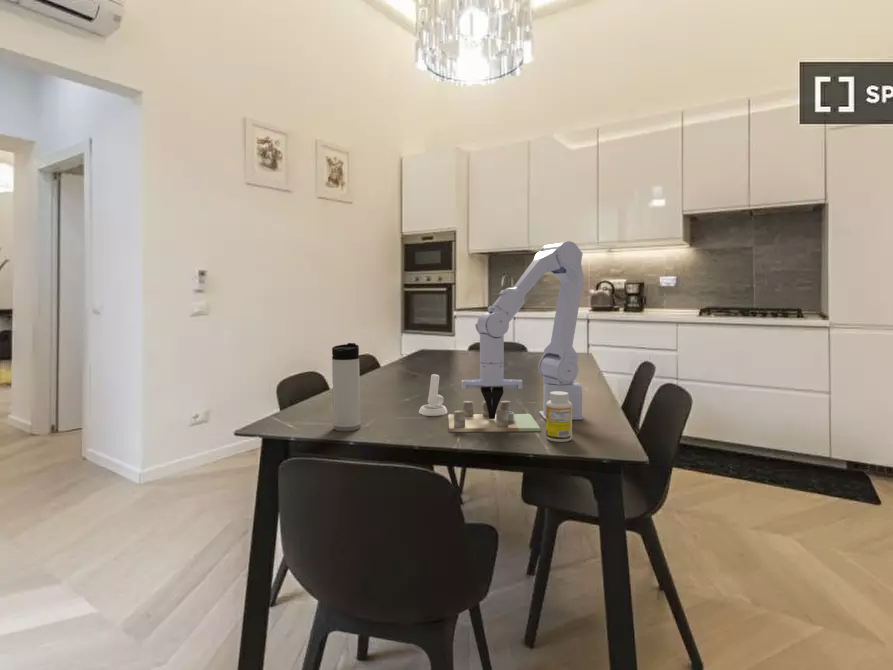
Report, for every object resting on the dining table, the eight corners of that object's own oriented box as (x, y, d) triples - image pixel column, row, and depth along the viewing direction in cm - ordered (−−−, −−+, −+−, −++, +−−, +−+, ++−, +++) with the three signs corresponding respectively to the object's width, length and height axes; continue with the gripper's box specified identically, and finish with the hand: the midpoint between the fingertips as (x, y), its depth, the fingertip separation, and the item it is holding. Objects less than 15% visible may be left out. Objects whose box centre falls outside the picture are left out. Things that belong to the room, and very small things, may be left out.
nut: (510, 418, 131) (510, 409, 131) (517, 421, 127) (517, 413, 127) (493, 419, 130) (493, 411, 129) (499, 423, 126) (499, 414, 126)
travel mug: (365, 425, 127) (364, 343, 126) (352, 432, 121) (350, 346, 119) (343, 423, 129) (341, 342, 128) (328, 430, 123) (326, 345, 122)
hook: (445, 387, 150) (452, 376, 144) (442, 426, 143) (450, 417, 138) (419, 382, 148) (425, 371, 142) (416, 422, 142) (422, 412, 136)
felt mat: (530, 416, 135) (530, 414, 135) (540, 431, 121) (540, 428, 121) (510, 417, 135) (510, 414, 135) (518, 431, 121) (518, 428, 121)
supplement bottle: (553, 434, 119) (554, 389, 118) (576, 438, 115) (577, 392, 114) (541, 439, 115) (541, 393, 114) (564, 444, 111) (564, 396, 110)
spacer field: (510, 417, 135) (510, 400, 135) (518, 431, 121) (518, 412, 121) (448, 417, 135) (448, 400, 135) (448, 431, 121) (448, 413, 121)
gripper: (519, 360, 131) (519, 413, 132) (461, 360, 131) (461, 414, 132) (523, 363, 124) (523, 420, 125) (462, 364, 124) (462, 421, 125)
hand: (491, 417), depth 128 cm, fingers closed
